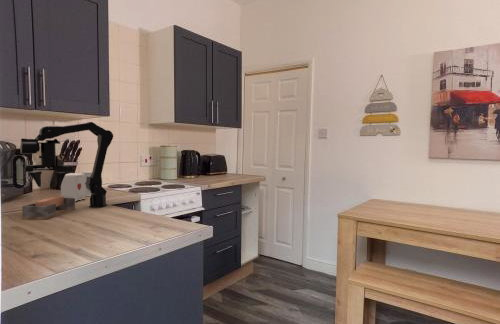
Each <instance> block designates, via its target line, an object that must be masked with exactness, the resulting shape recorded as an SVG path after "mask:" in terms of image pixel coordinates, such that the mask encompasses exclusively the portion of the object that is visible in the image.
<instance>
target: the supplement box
mask: <svg viewBox="0 0 500 324" xmlns="http://www.w3.org/2000/svg"><path fill="white" fill-rule="evenodd" d="M60 196H64V198H75V200H79V199H82V198H85V199H86V197H85V174H82V172H81V173H70V172H69V173H67V174H66V175H65V177H64V179H63V181H62V184H61V186H60Z"/></svg>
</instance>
